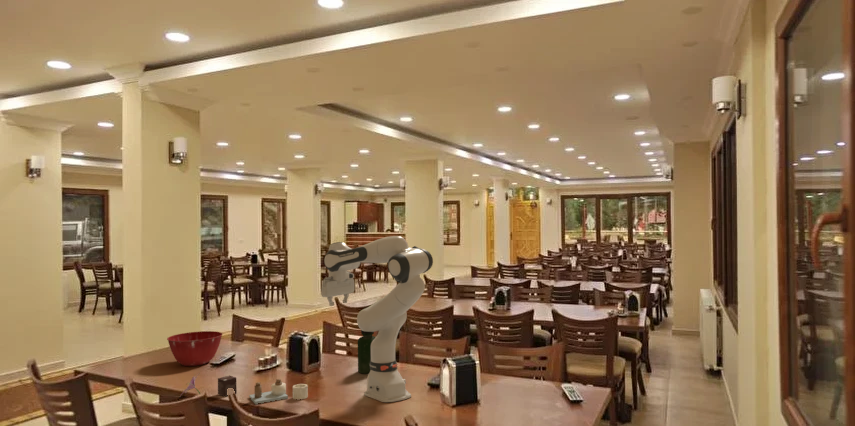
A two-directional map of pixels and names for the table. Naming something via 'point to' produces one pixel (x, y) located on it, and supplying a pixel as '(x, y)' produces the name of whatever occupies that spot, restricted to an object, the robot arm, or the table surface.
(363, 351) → the spray bottle
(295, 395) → the ring
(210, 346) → the mixing bowl
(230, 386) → the box
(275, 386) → the stand
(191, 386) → the lily
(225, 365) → the table surface
